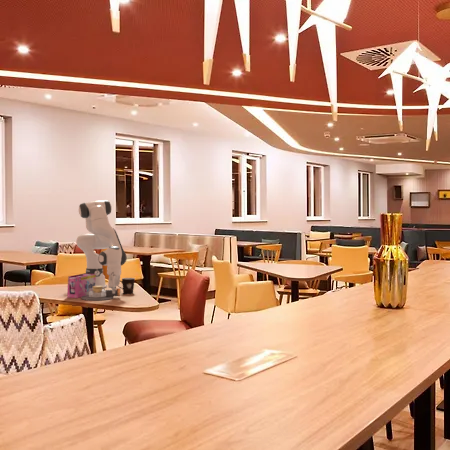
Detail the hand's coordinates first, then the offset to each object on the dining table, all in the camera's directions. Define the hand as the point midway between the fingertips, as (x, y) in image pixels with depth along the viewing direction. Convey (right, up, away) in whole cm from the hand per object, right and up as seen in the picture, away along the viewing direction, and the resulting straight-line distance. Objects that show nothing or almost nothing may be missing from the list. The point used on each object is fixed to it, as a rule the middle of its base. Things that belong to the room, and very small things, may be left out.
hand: (114, 293), depth 360 cm
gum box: (-24, -3, +12) cm, 27 cm away
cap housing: (-11, -3, +1) cm, 11 cm away
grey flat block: (-6, -2, +2) cm, 7 cm away
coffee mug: (+4, -3, +24) cm, 25 cm away
